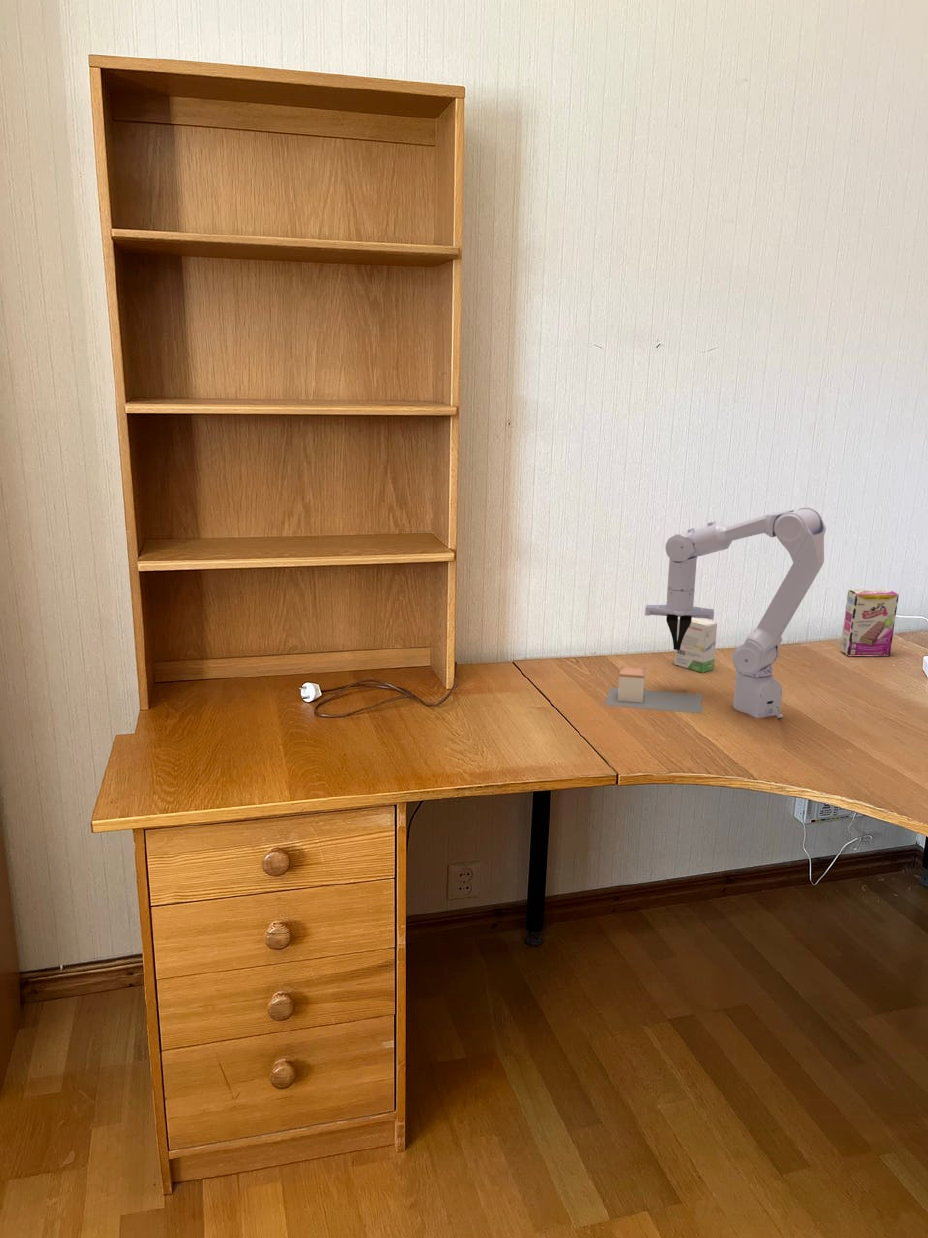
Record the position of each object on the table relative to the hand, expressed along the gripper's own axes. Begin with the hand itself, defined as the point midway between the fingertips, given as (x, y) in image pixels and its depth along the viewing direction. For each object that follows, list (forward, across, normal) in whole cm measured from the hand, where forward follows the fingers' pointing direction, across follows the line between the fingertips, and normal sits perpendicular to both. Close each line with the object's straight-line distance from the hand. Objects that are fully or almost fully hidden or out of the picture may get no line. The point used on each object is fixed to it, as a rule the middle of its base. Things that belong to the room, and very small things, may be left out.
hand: (676, 648), depth 212 cm
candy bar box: (+11, +47, +43) cm, 64 cm away
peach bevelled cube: (+9, -9, -8) cm, 15 cm away
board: (+10, -4, -8) cm, 14 cm away
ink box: (+11, +4, +21) cm, 24 cm away
